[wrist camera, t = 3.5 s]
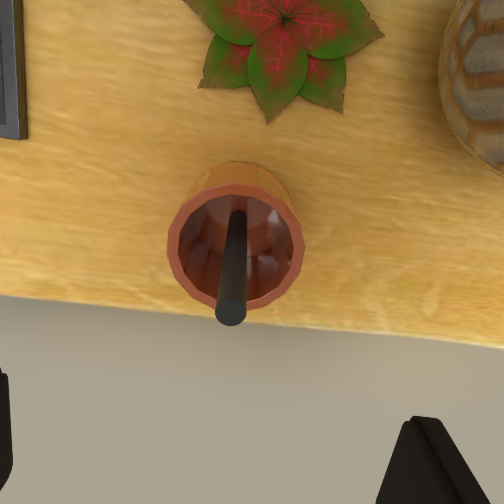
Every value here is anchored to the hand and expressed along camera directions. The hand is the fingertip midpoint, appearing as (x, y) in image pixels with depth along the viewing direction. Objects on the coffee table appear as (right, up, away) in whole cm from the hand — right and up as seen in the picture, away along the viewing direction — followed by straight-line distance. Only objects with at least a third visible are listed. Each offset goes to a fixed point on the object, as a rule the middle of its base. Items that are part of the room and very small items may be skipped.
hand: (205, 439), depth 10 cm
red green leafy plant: (+3, +18, +15) cm, 23 cm away
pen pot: (0, +7, +19) cm, 20 cm away
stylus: (0, +7, +18) cm, 19 cm away
